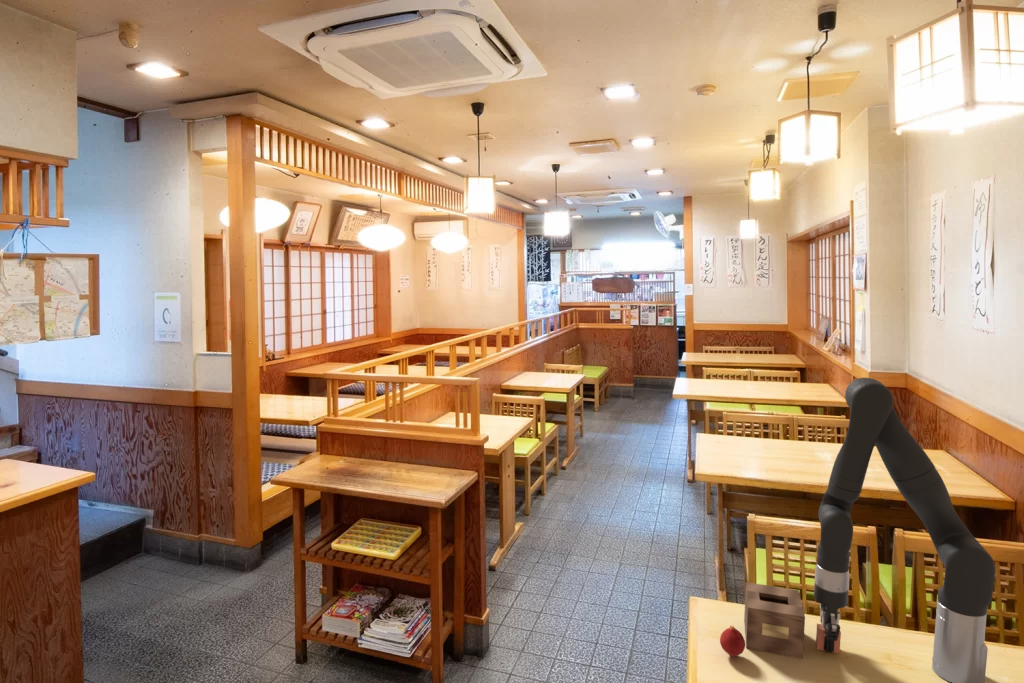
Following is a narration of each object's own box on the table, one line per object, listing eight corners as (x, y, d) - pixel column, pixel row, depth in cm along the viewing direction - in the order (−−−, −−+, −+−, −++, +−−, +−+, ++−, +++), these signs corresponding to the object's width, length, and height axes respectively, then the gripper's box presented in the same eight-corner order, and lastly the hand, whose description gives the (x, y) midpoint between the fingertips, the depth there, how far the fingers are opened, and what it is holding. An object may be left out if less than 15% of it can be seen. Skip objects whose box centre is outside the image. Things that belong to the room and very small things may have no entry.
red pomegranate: (740, 649, 149) (741, 619, 148) (747, 664, 144) (748, 633, 143) (717, 648, 150) (718, 618, 149) (722, 662, 144) (724, 632, 143)
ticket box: (796, 629, 158) (798, 590, 156) (802, 659, 145) (805, 617, 144) (744, 619, 162) (745, 582, 161) (746, 648, 150) (748, 607, 148)
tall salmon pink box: (837, 647, 150) (839, 627, 149) (839, 653, 147) (840, 632, 147) (815, 643, 151) (817, 623, 151) (817, 649, 149) (818, 629, 148)
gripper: (854, 600, 140) (850, 668, 142) (843, 572, 153) (839, 635, 155) (819, 594, 142) (815, 661, 144) (810, 567, 155) (807, 629, 157)
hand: (827, 647), depth 149 cm, fingers closed on tall salmon pink box, 2 cm apart
